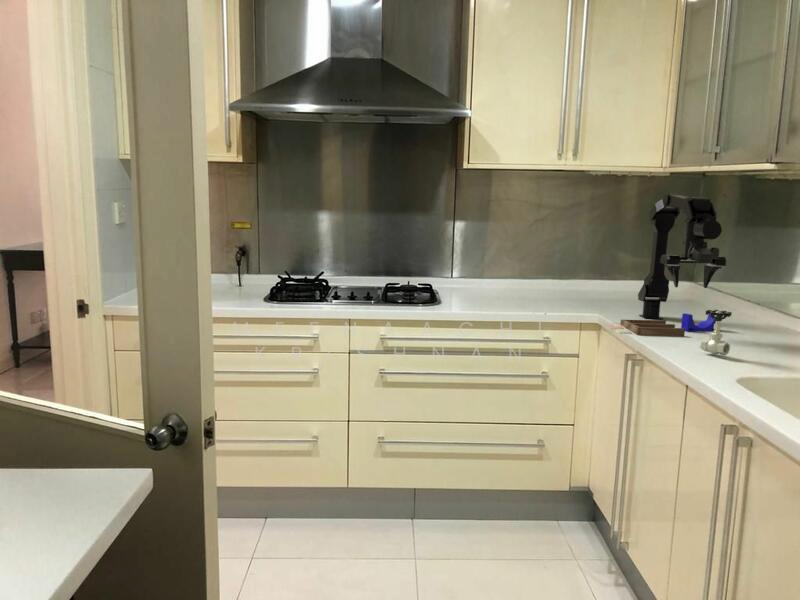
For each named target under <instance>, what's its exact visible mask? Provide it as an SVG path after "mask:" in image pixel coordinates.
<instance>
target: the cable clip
mask: <svg viewBox="0 0 800 600" xmlns="http://www.w3.org/2000/svg"><path fill="white" fill-rule="evenodd" d="M681 314H682V317H681V325H680V328H684V329H685V333H689V332H691V333H693V332H696V333H697V331H701V332H713V330H714V331H715V329H714V324H716V321H714V319H713V318H712V317H711V316H710V313H709V314H708V315H707V318H706V319H705V320H701V321H700V322H698V324H695V321H694V317H693V314H691V313H687V312H686V313H681Z"/></svg>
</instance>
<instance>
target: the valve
mask: <svg viewBox="0 0 800 600" xmlns="http://www.w3.org/2000/svg"><path fill="white" fill-rule="evenodd" d="M709 313H710V316H711V317H712V318H713V319H714V321H716V324H714V329H715V331H712V332H710V338H709V337H704V338H703V339H702V341H701V342H700V349H701V350H703V351H704V352H708V353H710V354H713V355H718V354H719V355H721V356H727V355H728V354H729V353H730V351H731V345H730V343H729V342H727V341H725V340H724V341H723V340H722V339H723V333H721V331H720V330H721V326H722V325H721V324H720V322H722V321H723V320H726V318H729V317H732V311H727V310H719V309H714V310H712V309H707V310H705V315H707V316H708V314H709Z"/></svg>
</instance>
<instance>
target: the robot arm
mask: <svg viewBox="0 0 800 600" xmlns="http://www.w3.org/2000/svg"><path fill="white" fill-rule="evenodd" d="M681 210H682V213H683V214H684V215H685V216H686V217H687V218H686V219H685V220H684V221H683V222H684V223H686V224H685V234H684V235H685V237H684V240H682V244H683V245H684V248H683V253H681V256H680V255H676V254H667V251H668V242H669V241H668V240H669V233H670V232H671V231H672V229H673V228H674V227H675V223H676V220H677V218H678V217H679V215H680V213H681ZM717 215H718V214H717V212H716V209H715V207H714V204H713V201H712V199H711V198H710V197H702V196H701V197H700V196H699V197H695V196H690V197H689V196H685V195H681V194H679V193H667V194H664V195H663V197H662V199H660V200H658V201H657V202H655V203H654V204H653V205H652V207H651V208H650V211H649V214H648V217H649V225H650V228H651V229H652V231H653V237H652V248H651V259H650V265H649V266H650V267H649V269H650V270H649V273H648V274H647V276H645V278H644V279H643V283H642V284H643V285H642V286H641V288H640V290H639V292H638V293H637V300H638V301H641V302H643V304H642V314H638V317H641V318H643V319H644V320H663V319H664V318H663V317H662V316H660V312H661V311H660V310H661V303H667V300H668V296H669V294H670V293H669V292H670V288H669V287H670V286H669V285H670V280H669V279H668V278H667V277H666V275H665V270H666V267H667V271H669V274H670V277H671V280H672V282H673V285H674V287H675V288H678V287H679V279H680V278H679V277H680V275H679V274H680V273H679V272H680V269H681V265H679V264H683V263H684V264H704V265H703V266H704V267H703V288H704V289H707V288H708V285H709V284H710V282H711V280H712V277H713V276H714V275H715V273H716V272H717V271H718V270H719V269H722V268H723V267H727V263H728V261H727V257H726V256H721V255H720V248H718V247H715V246H713V247H710V248H708V242H707V241H706V240H716V239H717V238H720V236H721V233H722V230H723V229H722V226H721V224H720V223H719V222H718V221H717Z"/></svg>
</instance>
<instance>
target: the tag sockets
mask: <svg viewBox="0 0 800 600" xmlns="http://www.w3.org/2000/svg"><path fill="white" fill-rule="evenodd" d="M608 327H609V328H610V329H615V332H617V333H619V334H627V335H628V334H630V335H632V334H634V335H637V336H655V337H658V336H660V337H685V333H686V331H685V329H684V328H681V327H676V324H674V323H667V320H663V319H620V325H619V326H618V325H609V326H608Z"/></svg>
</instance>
